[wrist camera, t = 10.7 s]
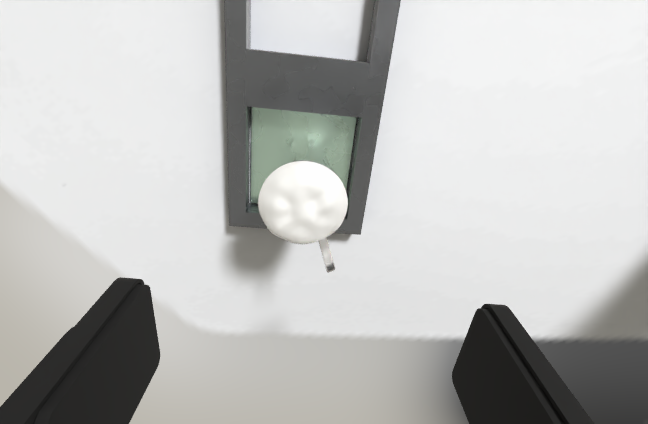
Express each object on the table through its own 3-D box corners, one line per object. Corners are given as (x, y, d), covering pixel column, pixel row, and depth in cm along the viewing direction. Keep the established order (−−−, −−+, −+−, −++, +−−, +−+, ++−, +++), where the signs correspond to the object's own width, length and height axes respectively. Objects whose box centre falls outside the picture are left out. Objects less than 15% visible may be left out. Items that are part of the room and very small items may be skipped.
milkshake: (296, 205, 26) (290, 288, 17) (261, 144, 24) (234, 202, 15) (349, 181, 25) (373, 254, 16) (319, 116, 23) (327, 158, 14)
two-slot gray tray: (412, -109, 18) (421, -123, 17) (357, 224, 27) (360, 234, 26) (228, -139, 17) (220, -156, 16) (233, 216, 26) (229, 225, 25)
